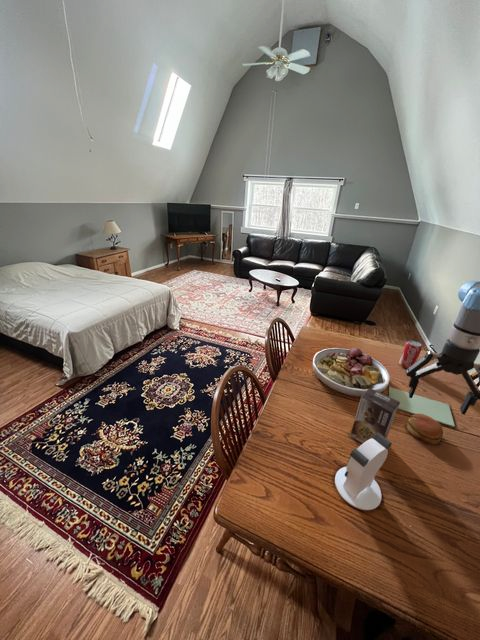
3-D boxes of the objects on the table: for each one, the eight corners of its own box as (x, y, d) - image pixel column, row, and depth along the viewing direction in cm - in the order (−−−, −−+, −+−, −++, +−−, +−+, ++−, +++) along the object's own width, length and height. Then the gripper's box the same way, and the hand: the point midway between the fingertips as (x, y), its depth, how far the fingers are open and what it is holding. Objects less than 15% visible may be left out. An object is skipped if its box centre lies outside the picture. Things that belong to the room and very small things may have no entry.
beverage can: (397, 366, 122) (406, 343, 117) (399, 360, 127) (407, 338, 122) (413, 371, 119) (422, 348, 114) (414, 365, 124) (423, 342, 119)
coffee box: (386, 442, 84) (401, 402, 77) (378, 454, 79) (394, 413, 73) (357, 424, 89) (369, 386, 83) (348, 435, 85) (360, 395, 78)
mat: (448, 405, 100) (448, 404, 100) (454, 427, 90) (455, 426, 90) (389, 387, 108) (389, 386, 108) (388, 406, 98) (389, 405, 98)
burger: (445, 447, 83) (451, 436, 81) (412, 441, 84) (417, 430, 82) (431, 423, 91) (436, 413, 90) (402, 418, 93) (406, 408, 91)
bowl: (381, 412, 95) (388, 395, 92) (301, 382, 109) (304, 366, 105) (389, 371, 118) (394, 356, 115) (322, 350, 132) (325, 336, 129)
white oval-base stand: (354, 459, 78) (366, 420, 71) (391, 493, 69) (410, 453, 63) (325, 479, 71) (337, 439, 65) (363, 519, 63) (380, 478, 57)
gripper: (412, 337, 75) (390, 396, 84) (528, 364, 65) (489, 427, 75) (410, 327, 81) (390, 383, 90) (517, 350, 72) (482, 410, 81)
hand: (435, 403), depth 83 cm, fingers open, 13 cm apart
